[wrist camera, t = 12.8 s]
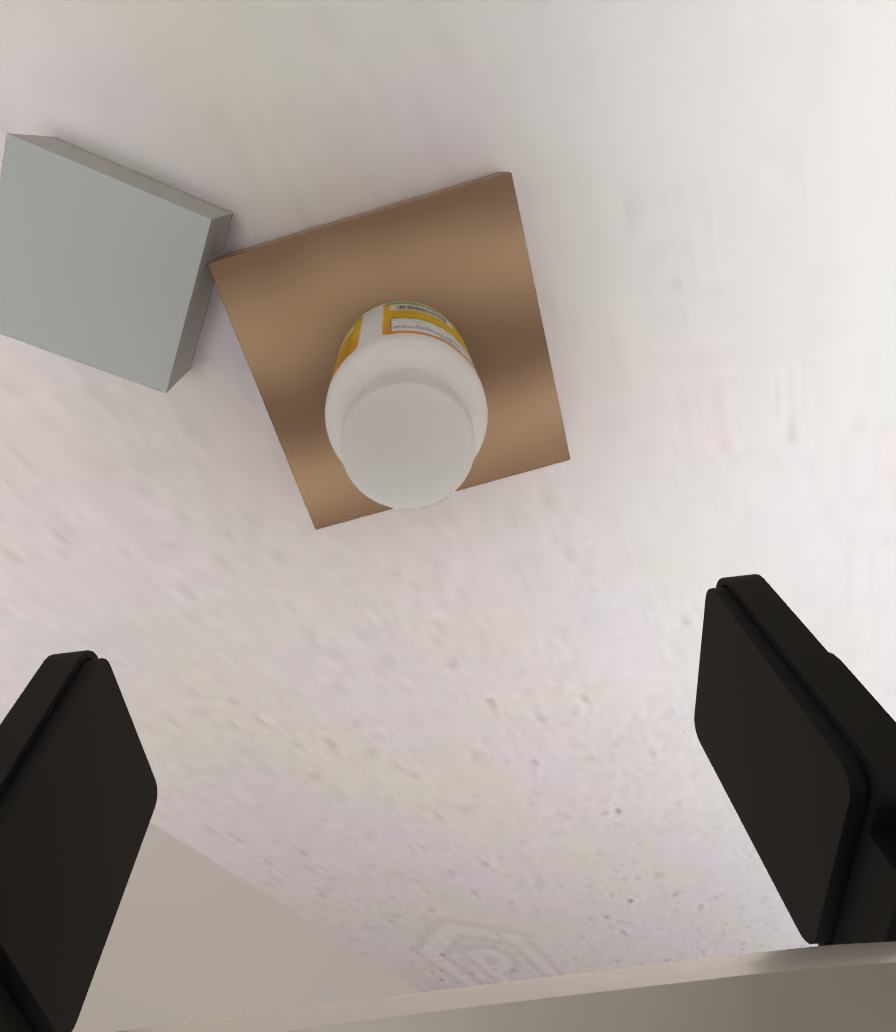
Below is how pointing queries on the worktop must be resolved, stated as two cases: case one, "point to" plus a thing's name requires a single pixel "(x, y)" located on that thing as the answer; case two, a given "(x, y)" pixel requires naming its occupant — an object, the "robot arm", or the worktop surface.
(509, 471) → the walnut block
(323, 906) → the worktop surface
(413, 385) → the supplement bottle
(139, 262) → the slate block
